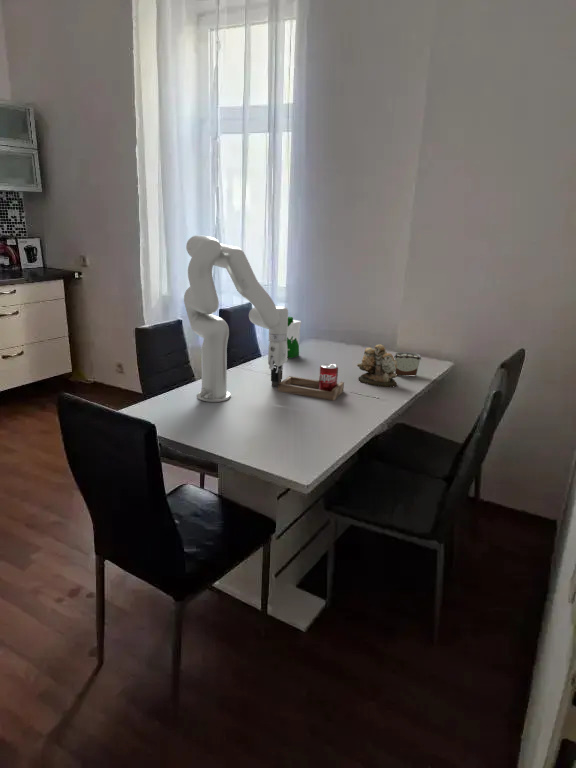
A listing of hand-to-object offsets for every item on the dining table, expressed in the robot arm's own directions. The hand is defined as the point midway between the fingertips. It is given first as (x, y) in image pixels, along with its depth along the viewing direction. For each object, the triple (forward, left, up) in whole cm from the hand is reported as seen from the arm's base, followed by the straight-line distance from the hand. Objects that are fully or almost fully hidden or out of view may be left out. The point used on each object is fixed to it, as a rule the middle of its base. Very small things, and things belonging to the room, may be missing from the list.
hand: (276, 379), depth 219 cm
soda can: (0, -22, -3) cm, 23 cm away
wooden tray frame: (0, -13, -2) cm, 13 cm away
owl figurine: (+26, -36, -3) cm, 45 cm away
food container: (+45, -45, -3) cm, 64 cm away
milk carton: (+48, +14, -3) cm, 50 cm away
